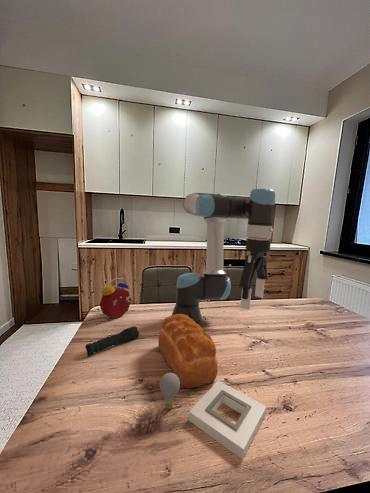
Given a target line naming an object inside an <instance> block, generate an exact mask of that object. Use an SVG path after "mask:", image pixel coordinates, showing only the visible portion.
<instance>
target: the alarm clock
mask: <svg viewBox="0 0 370 493" xmlns="http://www.w3.org/2000/svg"><path fill="white" fill-rule="evenodd" d="M114 280H121V282H119V283H117V285H116V284H114V285H111V283H112V282H113V281H114ZM116 286H117V287H116ZM126 289H128V290H126ZM129 289H130V287H129V284H127V283H126V282H125V281H123V278H119V277H115V278H113V279H112V280H110V281H109V284H108V285H107V286H105V287H104V288H103V290H102V292H101V293H102V297H101V299H100V303H99V307H100V310H101V312H102V314H103V315H105V316H107V317H106V320H109V319H110V318H113V319H120V318H122V317H123V316H124V315H125V314H126V313H127V312H128V311H129V308H130V307H131V306H130V305H131V302H132V296H131V295H130V292H129Z"/></svg>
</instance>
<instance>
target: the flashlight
mask: <svg viewBox="0 0 370 493" xmlns="http://www.w3.org/2000/svg"><path fill="white" fill-rule="evenodd" d="M139 336H140V331H139V330H138V327H137V326H136V325H134V326H130V327H128V328H125V329H123V330H121V331H120V332H118V333H116V334H112V335H110V336H109V335H108V336H106V337H104V338H100V339H99V340H97V341H93V342H92V343H91V342H90V343H86V344H85V349H86V352H87V353H86V355H87V356H88V357H91V356H92V355H94V354H95V353H99V352H101V351H103V350H106V349H109V348H112V347H113V346H116V345H118V344H120V343H124V342H126V343H127V342H130V341H132V340H135V339H137V338H138V337H139Z"/></svg>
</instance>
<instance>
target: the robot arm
mask: <svg viewBox="0 0 370 493" xmlns="http://www.w3.org/2000/svg"><path fill="white" fill-rule="evenodd" d="M182 206H183V209H184V211H185V212H186V213H188V214H189V215H192V216H198V217H201V218H202V217H203V221H204V222H205V223H206V270H205V271H203V275H201V274H200V273H196V272H186V273H183V274H180V275H179V276H178V277H177V280H176V285H175V287H176V290H175V291H176V292H175V293H176V294H175V296H176V297H175V305H174V308H173V310H172V313H171V316H172V315H174V314H185V315H187V316H188V317H190V318H191V319H192V320H194V321H195V322H196V323H197V324H198V325H200V324H201V323H202V314H201V313H202V312H201V309H200V301H219V300H220V301H221V300H226V299H228V297H229V296H230V294H231V289H232V288H231V287H232V283H231V278H230V277H229V276H227V272H226V271H225V270H224V256H225V255H224V243H225V242H224V241H225V240H224V231H225V230H224V227H225V226H224V223H225V222H226V221H227V219H239V220H247V227H246V237H247V239H246V240H245V250H246V251H249V252H250V254H249V255H248V254H247V255H245V262H244V266H243V270H242V272H241V278H240V282H239V285H238V287H239V288H241V295H240V296H241V298H240V306H239V307H240V308H241V309H244V310H248V311H249V310H250V309H251V298H252V290H253V289H252V284H253V282H254V278H255V276H256V274H257V276H256V281H255V291H254V297H257V298H260V299H263V297H264V293H265V292H264V289H265V282H266V280H268V266H267V265H268V264H267V254H268V253H269V252H270V250H271V242H272V241H271V240H270V239H271V238H272V233H274V229H273V223H274V214H275V206H276V191H275V190H273V189H272V188H253V189H252V190H251V191H250V195H249V196H248V197H244V196H231V195H230V196H229V195H226V194H220V193H206V192H205V193H204V192H194V193H191V194H188V195H186V196H185V197H184V199H183V202H182Z"/></svg>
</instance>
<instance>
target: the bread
mask: <svg viewBox="0 0 370 493" xmlns="http://www.w3.org/2000/svg"><path fill="white" fill-rule="evenodd" d="M158 333H159V334H158V340H157V341H158V342H157V343H158V350H159V351H160V353H161V355H162V356H163V358H164V360H165V361H166V364H167V365H168V366H169V368H171V370H172V373H174V374H176V375H177V376H178V378H179V381H180V385H182V386H183V387H186V388H187V389H192V388H197V387H200V386H203V385H204V386H205V385H208V384H210V383H212V382H213V381H215V380H216V379H217V376H218V370H219V368H218V358H217V355H216V354H217V347H216V346H215V345H216V344H215V343H214V340H213V339H212V337H211V335H209V333H207V331H206V330H204V329H203V327H201V326H200V324H197V323H196V322H195V321H194V320H192V319H191V318H190V317H188V316H187V315H185V314H174V315H172V314H171V315H170V316H168V317H166V318H164V320H163V322H162V324H161V330H160V332H158Z"/></svg>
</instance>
